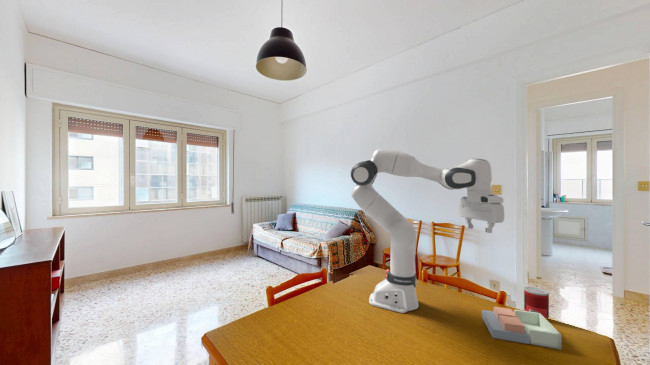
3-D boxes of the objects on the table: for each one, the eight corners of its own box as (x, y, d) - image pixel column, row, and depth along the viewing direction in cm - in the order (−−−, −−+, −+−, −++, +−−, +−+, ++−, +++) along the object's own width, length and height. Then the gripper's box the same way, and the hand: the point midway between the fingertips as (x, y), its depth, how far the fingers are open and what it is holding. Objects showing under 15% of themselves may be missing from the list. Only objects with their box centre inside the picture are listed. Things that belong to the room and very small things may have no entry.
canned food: (553, 321, 102) (553, 294, 102) (530, 319, 104) (530, 293, 104) (541, 312, 110) (541, 287, 110) (520, 310, 111) (520, 285, 111)
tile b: (504, 330, 91) (504, 323, 91) (499, 321, 97) (499, 314, 97) (524, 333, 89) (524, 326, 89) (517, 324, 95) (517, 317, 95)
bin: (530, 344, 88) (530, 329, 88) (514, 321, 102) (514, 309, 102) (561, 349, 85) (561, 334, 85) (540, 325, 99) (540, 313, 99)
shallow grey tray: (492, 337, 92) (492, 329, 92) (481, 316, 106) (481, 309, 106) (529, 344, 88) (529, 335, 88) (512, 321, 102) (513, 314, 102)
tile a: (498, 320, 98) (498, 313, 98) (493, 312, 104) (493, 306, 104) (516, 322, 96) (516, 316, 96) (510, 315, 102) (510, 308, 102)
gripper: (454, 196, 115) (454, 226, 115) (493, 199, 95) (493, 235, 95) (466, 196, 116) (466, 226, 116) (507, 198, 96) (507, 235, 96)
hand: (479, 230), depth 105 cm, fingers open, 8 cm apart
